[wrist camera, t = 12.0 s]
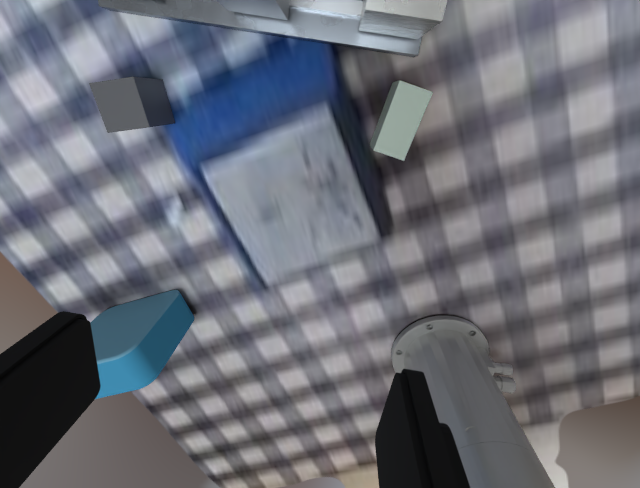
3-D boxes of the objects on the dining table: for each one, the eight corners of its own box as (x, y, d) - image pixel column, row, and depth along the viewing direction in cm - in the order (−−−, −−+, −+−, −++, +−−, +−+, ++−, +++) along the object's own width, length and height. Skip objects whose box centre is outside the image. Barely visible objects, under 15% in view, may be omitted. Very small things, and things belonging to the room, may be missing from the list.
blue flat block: (123, 333, 45) (55, 409, 34) (105, 308, 43) (27, 378, 32) (199, 314, 43) (151, 387, 32) (183, 286, 41) (127, 354, 30)
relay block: (162, 79, 31) (133, 76, 27) (175, 123, 33) (149, 127, 28) (124, 85, 32) (89, 83, 27) (138, 128, 33) (107, 132, 29)
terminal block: (421, 92, 31) (432, 92, 27) (396, 154, 33) (403, 160, 30) (392, 82, 30) (399, 80, 27) (369, 144, 33) (373, 150, 29)
